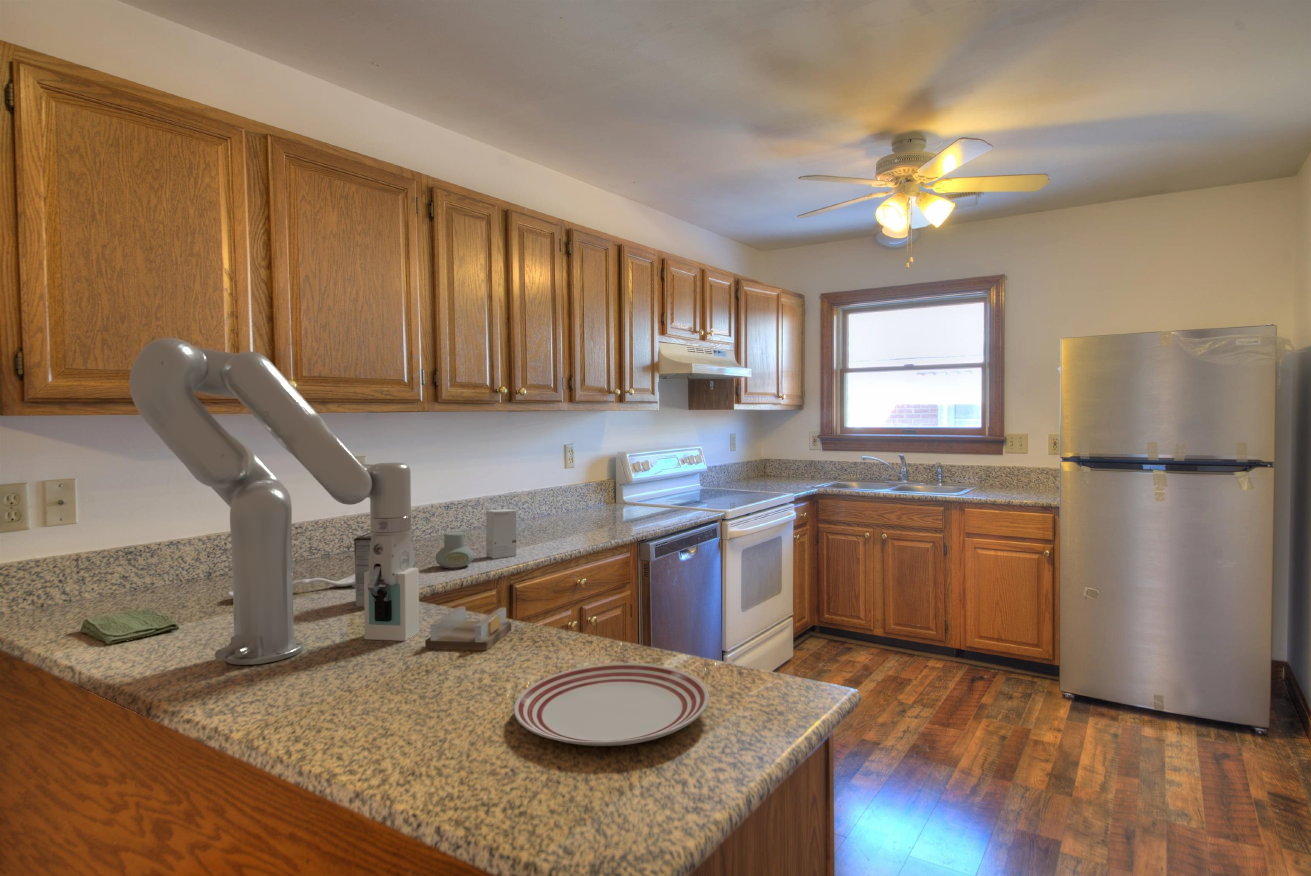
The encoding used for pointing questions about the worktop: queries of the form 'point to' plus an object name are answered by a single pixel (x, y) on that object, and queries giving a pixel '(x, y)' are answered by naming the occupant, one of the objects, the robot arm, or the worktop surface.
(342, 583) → the spoon
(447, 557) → the air freshener
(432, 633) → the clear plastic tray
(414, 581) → the carton
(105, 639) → the washcloth
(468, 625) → the napkin stand
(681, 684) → the dinner plate
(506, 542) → the skincare box
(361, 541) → the coffee box
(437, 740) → the worktop surface
